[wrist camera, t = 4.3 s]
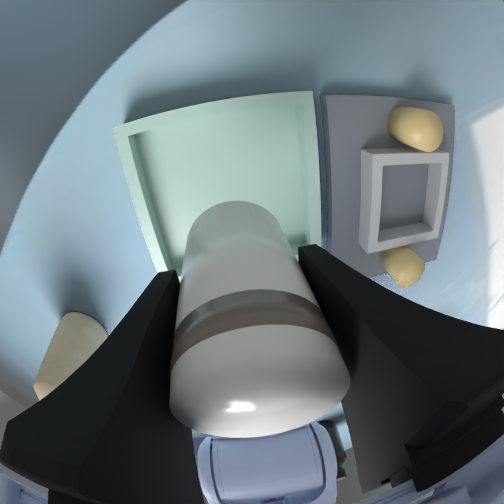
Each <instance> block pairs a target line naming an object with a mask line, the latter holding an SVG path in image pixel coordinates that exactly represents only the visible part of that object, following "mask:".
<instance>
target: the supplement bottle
mask: <svg viewBox="0 0 504 504" xmlns="http://www.w3.org/2000/svg"><path fill="white" fill-rule="evenodd" d="M318 423H319V424H320V425H321V426H323V427H324V428H325V429H326V430H327V432H328V434H329V436H330V438H331V441H332V444H333V447H334V451H335V455H336V461H337V477H336V481H339V480H341V479H344V478H345V477H346V473H345V469H344V468H343V467H342V466H343V465H344V464H345V463H346V461H347V457H346V453H345V450H344V447H343V444H342V441H341V438H340V435H339V432H338V429H337V426H336V424H335V422H333V421H322V422H318Z"/></svg>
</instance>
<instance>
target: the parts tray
mask: <svg viewBox="0 0 504 504" xmlns="http://www.w3.org/2000/svg"><path fill="white" fill-rule="evenodd" d="M113 131H114V135H115V139H116V144H117V148H118V152H119V156H120V159H121V163H122V167H123V171H124V174H125V178H126V181H127V185H128V188H129V192H130V195H131V198H132V202H133V205H134V208H135V211H136V214H137V217H138V220H139V223H140V226H141V229H142V232H143V235H144V238H145V241H146V244H147V247H148V249H149V252H150V255H151V258H152V260H153V263H154V266H155V268H156V271H157V273H158V272H163V271H169V270H174V269H176V272H177V275H178V278H179V281H180V282H181V275H182V268H183V261H184V254H185V248H186V242H187V236H188V233H189V230H190V228H191V226H192V224H193V223H194V221H195V220H196V219H197V218H198V217H199V216H200V215H201V214H202V213H203V212H204V211H205V210H207V209H209V208H210V207H212V206H214V205H217V204H220V203H223V202H228V201H247V202H252V203H254V204H257V205H259V206H261V207H263V208H265V209H266V210H268V211H269V212H270V213H271V214H272V215H273V216H274V217H275V218H276V219H277V221H278V222H279V224H280V226H281V228H282V230H283V232H284V234H285V236H286V238H287V240H288V242H289V244H290V246H291V248H292V250H293V252H294V254H295V256H296V258H297V260H298V247H301V246H306V245H312V244H317V245H318V246H320V247H321V196H320V174H319V156H318V142H317V129H316V118H315V108H314V98H313V91H296V92H282V93H270V94H261V95H252V96H244V97H237V98H230V99H224V100H218V101H213V102H207V103H202V104H197V105H192V106H188V107H183V108H179V109H175V110H171V111H167V112H163V113H159V114H155V115H151V116H148V117H144V118H141V119H138V120H134V121H131V122H128V123H125V124H122V125H119V126H116V127H113Z"/></svg>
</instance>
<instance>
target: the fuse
mask: <svg viewBox="0 0 504 504" xmlns="http://www.w3.org/2000/svg"><path fill="white" fill-rule="evenodd" d="M349 386H350V375H349V372H348V370H347V367H346V365H345V363H344V360H343V358H342V356H341V351H340V348H339V346H338V343H337V341H336V339H335V337H334V335H333V332H332V330H331V328H330V326H329V324H328V321H327V319H326V317H325V316H324V314H323V312H322V311H321V309H320V307H319V305H318V303H317V300H316V298H315V296H314V294H313V292H312V290H311V288H310V285H309V283H308V281H307V279H306V277H305V275H304V273H303V271H302V269H301V267H300V264H299V262H298V260H297V258H296V256H295V254H294V252H293V250H292V248H291V246H290V244H289V242H288V240H287V238H286V236H285V234H284V232H283V230H282V228H281V226H280V224H279V222H278V221H277V219H276V218H275V217H274V216H273V215H272V214H271V213H270V212H269V211H268V210H266V209H265V208H263V207H261V206H259V205H257V204H254V203H252V202H247V201H228V202H223V203H220V204H217V205H214V206H212V207H210V208H209V209H207V210H205V211H204V212H203V213H202V214H201V215H200V216H199V217H198V218H197V219H196V220H195V221H194V223H193V224H192V226H191V228H190V230H189V233H188V236H187V242H186V248H185V254H184V261H183V268H182V275H181V282H180V290H179V298H178V306H177V315H176V324H175V334H174V337H173V343H172V353H171V365H170V400H169V406H170V410H171V412H172V414H173V415H174V416H175V418H176V419H177V420H178V421H180V422H181V423H182V424H184V425H186V426H187V427H189V428H191V429H193V430H196V431H199V432H202V433H205V434H209V435H214V436H220V437H230V438H250V437H261V436H268V435H273V434H278V433H282V432H286V431H289V430H292V429H295V428H298V427H301V426H303V425H306V424H308V423H310V422H312V421H314V420H316V419H318V418H320V417H321V416H323V415H325V414H326V413H327V412H329V411H330V410H331V409H333V408H334V407H335V406H336V405H337V404H338V403H339V402H340V401H341V400H342V399H343V398H344V396H345V395H346V393H347V391H348V389H349Z"/></svg>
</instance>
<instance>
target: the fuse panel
mask: <svg viewBox="0 0 504 504" xmlns="http://www.w3.org/2000/svg"><path fill="white" fill-rule="evenodd" d="M320 98H321V108H322V119H323V132H324V146H325V163H326V187H327V252H329V253H330V254H332V255H333V256H335V257H336V258H338V259H339V260H341V261H342V262H344V263H345V264H347V265H348V266H350V267H351V268H353V269H355V270H356V271H358V272H359V273H361V274H362V275H364V276H366V277H367V278H369V277H373V276H377V275H381V274H385V273H389V274H390V275H391V276H392V277H393V278H394V280H395V281H396V282H397V283H398V285H399V286H400V287H403V288H405V287H409V286H411V285H413V284H415V283H416V282H417V281H418V280H419V279H420V277H421V276H422V274H423V271H424V267H425V265H424V263H426V262H429V261H432V260H436V258H437V254H438V250H439V246H440V242H441V237H442V232H443V227H444V222H445V217H446V211H447V205H448V198H449V191H450V183H451V174H452V164H453V150H454V105H450V104H444V103H438V102H432V101H425V100H417V99H409V98H399V97H387V96H370V95H320Z"/></svg>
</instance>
